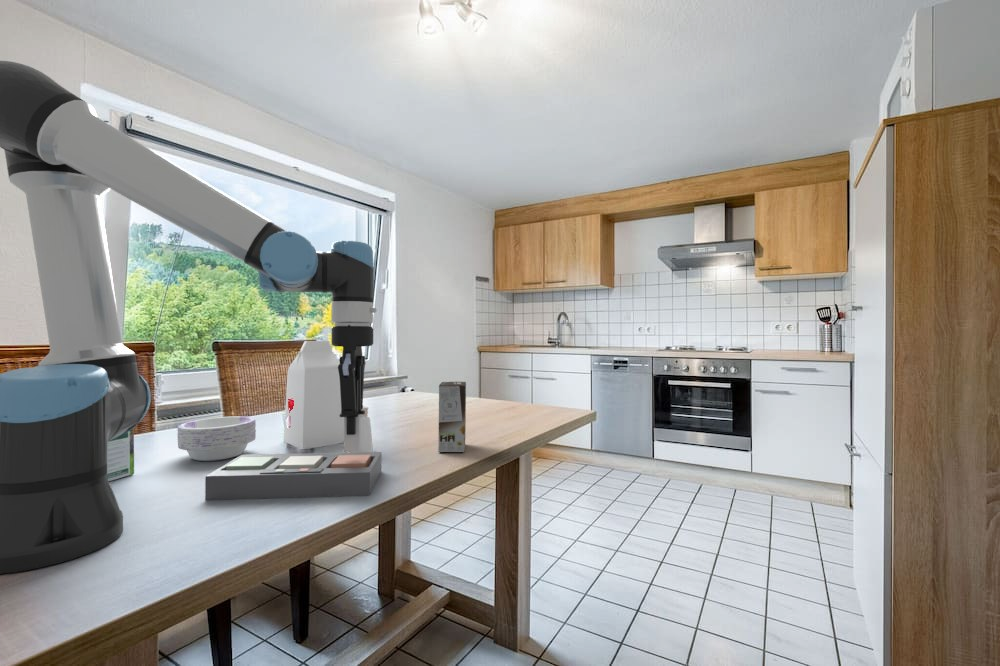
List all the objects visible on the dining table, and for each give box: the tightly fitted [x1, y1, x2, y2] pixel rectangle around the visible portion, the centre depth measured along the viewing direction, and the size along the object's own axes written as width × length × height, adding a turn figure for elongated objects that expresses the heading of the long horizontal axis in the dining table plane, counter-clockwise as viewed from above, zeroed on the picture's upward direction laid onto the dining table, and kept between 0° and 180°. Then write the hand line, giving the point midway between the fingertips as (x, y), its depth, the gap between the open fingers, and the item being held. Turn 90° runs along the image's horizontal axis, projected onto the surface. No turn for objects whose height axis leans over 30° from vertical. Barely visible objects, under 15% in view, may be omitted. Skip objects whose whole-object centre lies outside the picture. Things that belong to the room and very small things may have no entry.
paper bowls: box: [176, 415, 257, 462], centre depth 106 cm, size 15×15×8 cm
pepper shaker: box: [349, 405, 374, 453], centre depth 109 cm, size 5×5×11 cm
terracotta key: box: [331, 455, 371, 468], centre depth 88 cm, size 6×6×2 cm
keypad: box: [204, 451, 382, 501], centre depth 87 cm, size 14×27×4 cm, turn 96°
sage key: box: [226, 457, 274, 470], centre depth 86 cm, size 6×6×2 cm
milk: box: [283, 340, 344, 450], centre depth 121 cm, size 12×12×26 cm
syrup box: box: [107, 427, 135, 482], centre depth 90 cm, size 6×6×14 cm
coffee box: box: [437, 381, 467, 453], centre depth 115 cm, size 9×6×16 cm
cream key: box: [279, 456, 323, 469], centre depth 87 cm, size 6×6×2 cm
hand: (352, 450), depth 88 cm, fingers closed
